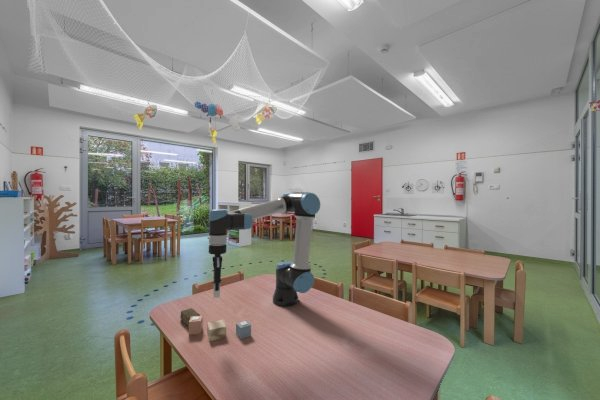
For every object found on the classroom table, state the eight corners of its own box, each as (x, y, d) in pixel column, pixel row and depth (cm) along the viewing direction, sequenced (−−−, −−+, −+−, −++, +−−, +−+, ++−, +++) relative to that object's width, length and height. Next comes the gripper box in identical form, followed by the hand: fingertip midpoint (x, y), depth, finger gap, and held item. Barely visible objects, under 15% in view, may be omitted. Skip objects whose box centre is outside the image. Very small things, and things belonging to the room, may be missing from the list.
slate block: (246, 330, 117) (246, 319, 117) (250, 335, 113) (251, 323, 113) (235, 334, 114) (236, 322, 114) (240, 339, 110) (240, 327, 110)
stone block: (189, 328, 118) (189, 318, 118) (179, 320, 126) (179, 310, 126) (201, 324, 122) (201, 314, 122) (191, 316, 130) (191, 306, 130)
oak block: (223, 330, 118) (223, 319, 118) (226, 337, 111) (226, 326, 111) (207, 333, 115) (207, 322, 114) (209, 341, 108) (209, 330, 108)
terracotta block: (202, 328, 119) (202, 315, 119) (200, 334, 114) (200, 320, 114) (191, 329, 118) (191, 315, 118) (188, 335, 113) (188, 321, 113)
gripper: (208, 241, 117) (207, 292, 118) (209, 247, 105) (208, 303, 105) (225, 241, 120) (224, 290, 120) (227, 246, 108) (226, 301, 108)
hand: (216, 296), depth 113 cm, fingers closed
